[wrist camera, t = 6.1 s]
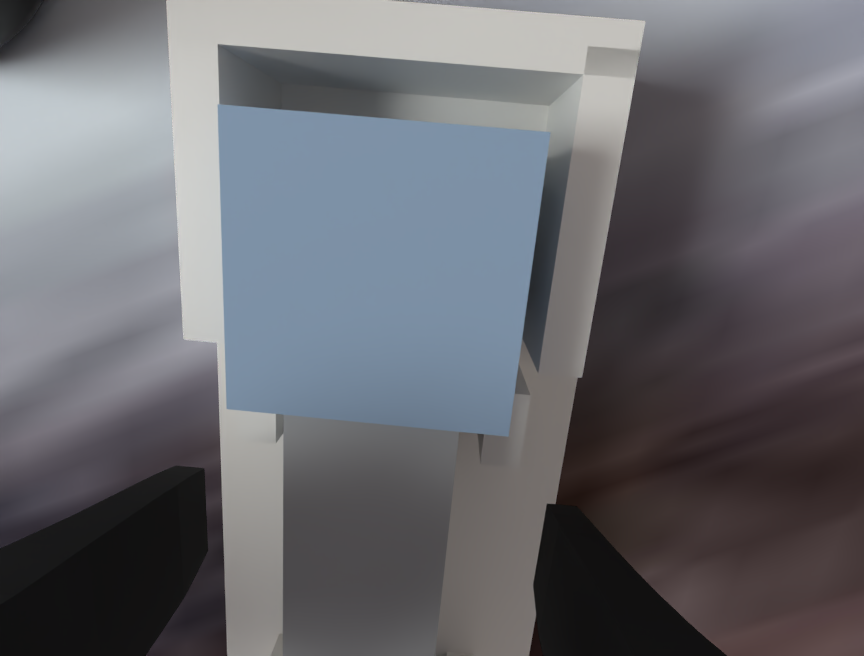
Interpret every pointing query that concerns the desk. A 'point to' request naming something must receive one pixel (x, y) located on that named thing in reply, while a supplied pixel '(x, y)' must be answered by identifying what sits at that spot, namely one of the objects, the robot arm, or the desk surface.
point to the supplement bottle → (15, 17)
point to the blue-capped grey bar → (372, 344)
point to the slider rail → (550, 277)
